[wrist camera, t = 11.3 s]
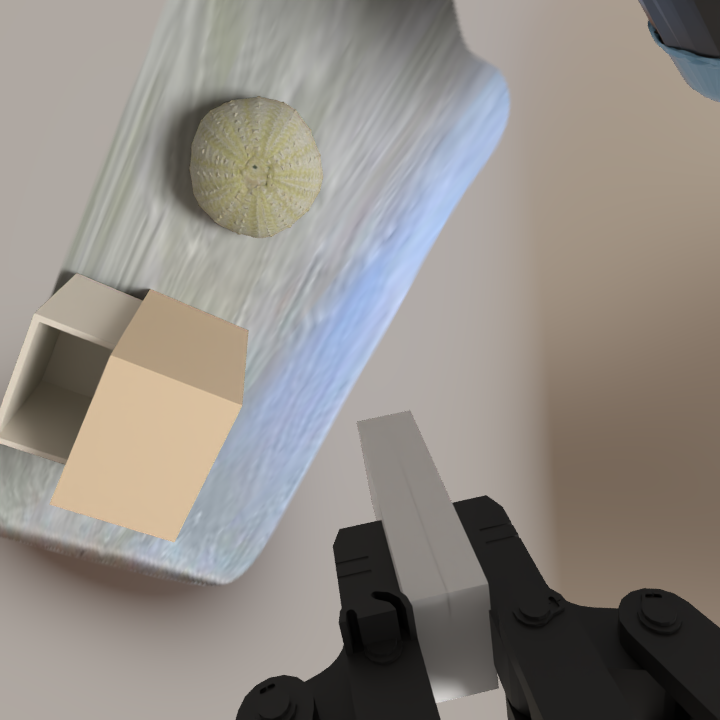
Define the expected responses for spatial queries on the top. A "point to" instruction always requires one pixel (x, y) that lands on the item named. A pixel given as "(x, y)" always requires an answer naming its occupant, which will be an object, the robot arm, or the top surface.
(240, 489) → the top surface
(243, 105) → the sea urchin shell
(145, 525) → the sleeve
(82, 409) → the drawer box
